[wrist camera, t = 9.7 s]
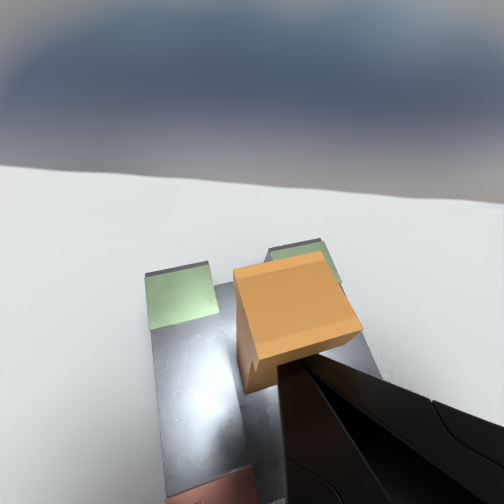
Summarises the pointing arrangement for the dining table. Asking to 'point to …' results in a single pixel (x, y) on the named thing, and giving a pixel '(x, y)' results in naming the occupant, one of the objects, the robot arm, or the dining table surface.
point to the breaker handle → (287, 316)
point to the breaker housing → (219, 389)
